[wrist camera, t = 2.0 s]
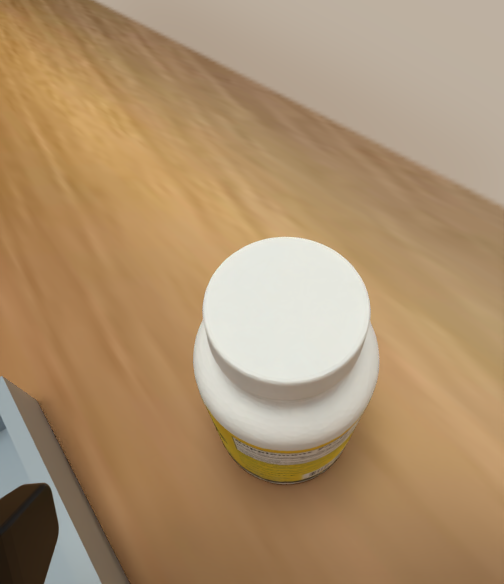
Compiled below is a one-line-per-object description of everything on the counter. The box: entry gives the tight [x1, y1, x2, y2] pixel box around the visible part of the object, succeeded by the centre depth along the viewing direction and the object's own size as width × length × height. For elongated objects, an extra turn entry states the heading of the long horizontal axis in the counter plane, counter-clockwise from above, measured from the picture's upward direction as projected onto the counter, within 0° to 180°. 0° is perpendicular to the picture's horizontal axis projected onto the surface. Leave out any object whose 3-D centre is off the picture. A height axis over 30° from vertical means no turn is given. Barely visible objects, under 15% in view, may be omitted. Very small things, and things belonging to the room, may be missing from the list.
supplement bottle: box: [193, 237, 379, 484], centre depth 15 cm, size 5×5×10 cm
